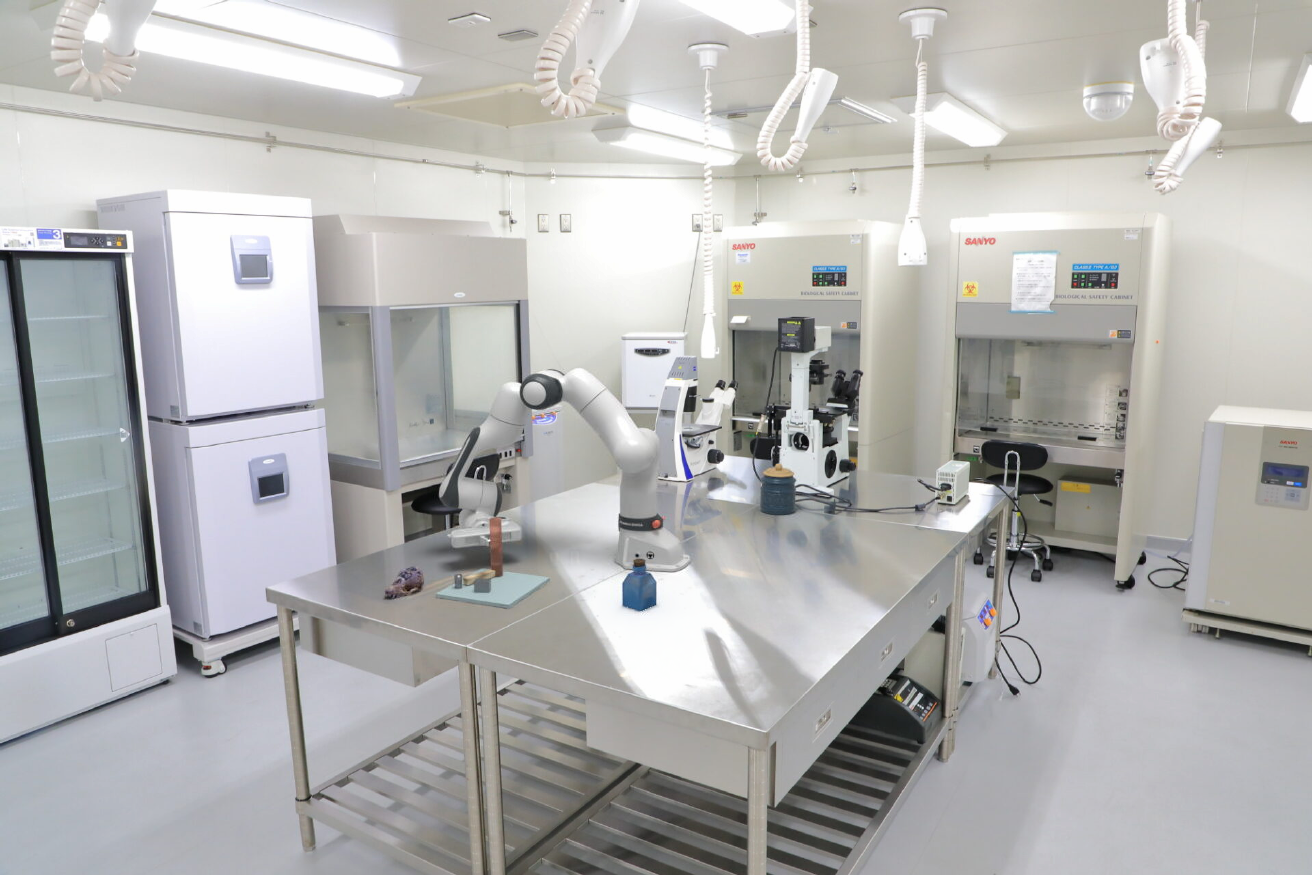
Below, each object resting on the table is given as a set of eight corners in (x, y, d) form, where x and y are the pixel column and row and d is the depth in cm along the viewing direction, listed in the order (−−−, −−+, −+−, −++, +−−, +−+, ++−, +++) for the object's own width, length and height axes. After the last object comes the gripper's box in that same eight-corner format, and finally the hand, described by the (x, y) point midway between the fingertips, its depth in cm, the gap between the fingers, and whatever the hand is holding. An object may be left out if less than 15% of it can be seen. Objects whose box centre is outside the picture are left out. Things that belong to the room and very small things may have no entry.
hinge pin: (464, 590, 228) (463, 574, 228) (459, 592, 227) (459, 576, 226) (457, 589, 229) (457, 573, 228) (453, 591, 227) (452, 575, 226)
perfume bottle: (638, 599, 222) (638, 555, 220) (656, 604, 218) (656, 560, 216) (622, 606, 218) (622, 561, 216) (640, 611, 214) (640, 566, 212)
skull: (393, 602, 220) (392, 579, 219) (375, 596, 225) (373, 574, 224) (430, 589, 230) (429, 567, 229) (411, 583, 234) (410, 562, 233)
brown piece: (468, 585, 228) (466, 528, 225) (461, 583, 230) (459, 526, 227) (505, 574, 237) (503, 518, 235) (498, 571, 240) (496, 516, 237)
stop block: (491, 589, 226) (490, 578, 226) (489, 592, 224) (489, 581, 224) (476, 589, 226) (475, 578, 226) (474, 592, 224) (473, 581, 224)
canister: (752, 508, 314) (753, 461, 310) (782, 504, 319) (783, 458, 316) (772, 517, 302) (773, 468, 299) (802, 513, 307) (804, 465, 304)
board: (550, 580, 236) (549, 577, 236) (509, 608, 216) (509, 604, 215) (481, 571, 244) (481, 568, 243) (436, 597, 223) (435, 593, 223)
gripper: (445, 524, 248) (454, 536, 236) (514, 516, 256) (526, 528, 244) (446, 544, 249) (455, 558, 237) (514, 536, 258) (527, 549, 245)
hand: (492, 543), depth 241 cm, fingers closed
